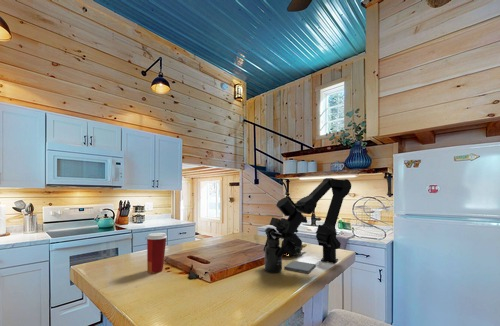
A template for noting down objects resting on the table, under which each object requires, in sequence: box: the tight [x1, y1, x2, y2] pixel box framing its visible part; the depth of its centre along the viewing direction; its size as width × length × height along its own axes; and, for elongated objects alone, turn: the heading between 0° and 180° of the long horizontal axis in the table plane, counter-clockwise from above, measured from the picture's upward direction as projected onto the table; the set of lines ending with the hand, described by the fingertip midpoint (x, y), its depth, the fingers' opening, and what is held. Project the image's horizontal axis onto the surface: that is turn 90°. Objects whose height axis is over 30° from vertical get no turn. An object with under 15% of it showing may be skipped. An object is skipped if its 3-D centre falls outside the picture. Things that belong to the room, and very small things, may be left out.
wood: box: [188, 260, 202, 281], centre depth 98 cm, size 22×7×3 cm, turn 8°
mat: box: [283, 260, 317, 275], centre depth 101 cm, size 10×10×1 cm
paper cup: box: [145, 232, 168, 274], centre depth 96 cm, size 8×8×14 cm
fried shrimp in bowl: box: [280, 239, 308, 257], centre depth 123 cm, size 9×11×18 cm
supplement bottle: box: [264, 239, 283, 274], centre depth 98 cm, size 7×7×12 cm
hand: (270, 253), depth 98 cm, fingers open, 9 cm apart
